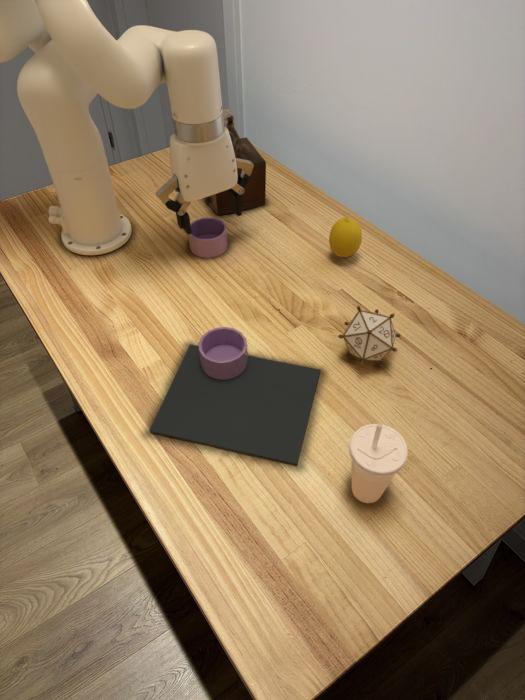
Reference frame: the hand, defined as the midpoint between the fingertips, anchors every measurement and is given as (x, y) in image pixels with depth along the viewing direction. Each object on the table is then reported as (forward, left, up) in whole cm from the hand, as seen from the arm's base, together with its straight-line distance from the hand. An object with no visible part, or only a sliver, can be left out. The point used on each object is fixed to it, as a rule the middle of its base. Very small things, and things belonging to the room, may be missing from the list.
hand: (211, 220), depth 96 cm
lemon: (+23, +3, -6) cm, 24 cm away
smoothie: (+33, -41, -6) cm, 53 cm away
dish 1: (-1, 0, -6) cm, 6 cm away
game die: (+30, -19, -6) cm, 36 cm away
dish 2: (+10, -26, -5) cm, 29 cm away
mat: (+14, -32, -6) cm, 35 cm away
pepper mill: (0, +14, -6) cm, 15 cm away
